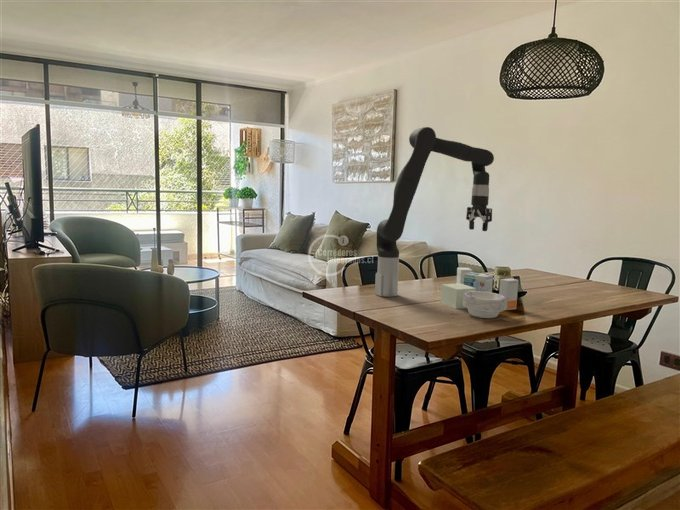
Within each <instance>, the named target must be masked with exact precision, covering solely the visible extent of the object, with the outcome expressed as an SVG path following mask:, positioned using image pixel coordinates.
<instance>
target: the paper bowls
mask: <svg viewBox="0 0 680 510" xmlns="http://www.w3.org/2000/svg"><path fill="white" fill-rule="evenodd" d="M505 301H506V298H505V297H504V296H502V295H500V294H499V293H496V292H492V293H491V292H482V291H470V292H466V293H464V299H463V306H464V307H465V308H464V309H467V311H468V314H469V315H470V316H472V317H475V318H479V319H480V318H481V319H493V318H497V317H498V316H499V315H500V313H502V312H504V311H506V310H505Z"/></svg>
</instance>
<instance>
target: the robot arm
mask: <svg viewBox="0 0 680 510" xmlns="http://www.w3.org/2000/svg"><path fill="white" fill-rule="evenodd" d="M436 135H437V134H436V132H435V130H434V128H432V127H429V126H426V127H425V126H424V127H421V128H420V127H419V128H417V129H414V130H413V131H412V132H410V135H409V137H408V138H409V139H408V140H409V144H410V146H411V147H412V149H413V151H412V153H411V155H410V157H409V159H408V161H407V163H406V164H405V165H404V166H403V168H402V169H401V171H400V173H399V175H398V177H397V180H396V183H395V186H394V189H393V199H392V201H393V202H392V209H391V212H390V214H389V217H388V219H383V220H381V221H380V222H379V223H378V225H377V228H376V250H377V272H375V280H374V282H375V284H374V287H375V288H374V294H375V295H377V296H379V297H387V298H389V297H390V298H391V297H397V296H398V294H399V293H398V291H399V288H398V287H399V265H400V263H399V262H400V250H399V249H398V246H397V241H398V240H400V239H401V237H402V235H403V233H404V230H405V225H406V222H407V217H408V213H409V211H410V208H411V206H412V203H413V200H414V197H415V195H416V193H417V189H418V187H419V184H420V180H421V179H422V176H423V175H422V174H423V172H424V170H425V167H426V163H427V161H428V158H429V156H430V155H431V152H434V153H437V154H441V155H445V156H447V157H450V158H453V159H457V160H460V161H463V162H469V163H470V162H471V169H472V174H473V179H472V188H471V189H472V190H471V206H467V208H466V216H465V217H466V220H468V222H469V223H468V228H469V230H471V231H473V230H474V229H475V220H476V219H477V218H480V219H481V220H482V228H481V229H482V230H481V231H482V232H487V231H488V227H489V223H490V222H492V221H493V208H490V207H488V206H489V197H490V173H489V172H487V171H486V167H488V166H491V165H492V164H493V162H494V161H495V155H494V154H493V153H492V151H491V150H488V149H485V148H481V147H474V146H472V145H469V144H466V143H462V142H459V141H453V140H447V139H443V138H439V137H437V136H436Z"/></svg>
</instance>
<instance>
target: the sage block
mask: <svg viewBox="0 0 680 510" xmlns="http://www.w3.org/2000/svg"><path fill="white" fill-rule="evenodd" d="M440 291H441V295H440V303H441V304H443V305H446V306H447V307H451V308H453V309H455V310H458V309H459V310H460V309H466V308H465V307H464V306H463V299H464V293H466V292H470V291H476V288H473V287H470V286H467V285H464V284H461V283H457V282H455V283H442V284H441V290H440Z"/></svg>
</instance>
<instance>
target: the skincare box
mask: <svg viewBox="0 0 680 510" xmlns="http://www.w3.org/2000/svg"><path fill="white" fill-rule="evenodd" d="M518 291H519V279H516V278H512V277H511V278H501V279H499V292H498V294H500V295H502V296H504V297H505V298H506V301H505V310H504V311H510V310H517V304H518V302H517V301H518Z"/></svg>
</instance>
